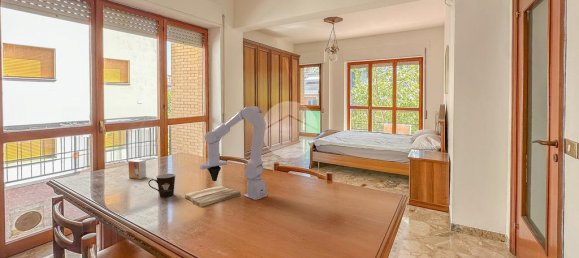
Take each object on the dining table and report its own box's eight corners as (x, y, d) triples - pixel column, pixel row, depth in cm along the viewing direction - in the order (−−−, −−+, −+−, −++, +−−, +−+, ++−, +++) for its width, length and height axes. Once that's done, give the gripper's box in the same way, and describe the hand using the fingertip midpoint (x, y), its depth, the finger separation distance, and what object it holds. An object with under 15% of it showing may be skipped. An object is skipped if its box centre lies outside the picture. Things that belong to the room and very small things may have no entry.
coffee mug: (179, 192, 149) (178, 173, 148) (170, 198, 141) (169, 178, 140) (157, 192, 151) (156, 173, 150) (147, 197, 142) (146, 177, 141)
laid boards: (240, 195, 146) (240, 191, 146) (200, 206, 130) (200, 203, 130) (232, 192, 151) (232, 189, 150) (192, 203, 134) (192, 199, 134)
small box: (128, 178, 178) (127, 161, 176) (136, 175, 183) (135, 159, 182) (139, 179, 175) (138, 161, 174) (146, 176, 181) (145, 160, 179)
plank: (229, 191, 151) (229, 188, 150) (193, 201, 136) (193, 198, 136) (220, 188, 156) (220, 185, 156) (184, 197, 141) (184, 194, 141)
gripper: (221, 152, 158) (221, 176, 159) (196, 155, 147) (197, 182, 148) (228, 153, 153) (229, 178, 154) (204, 157, 142) (205, 184, 144)
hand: (214, 180), depth 151 cm, fingers closed
